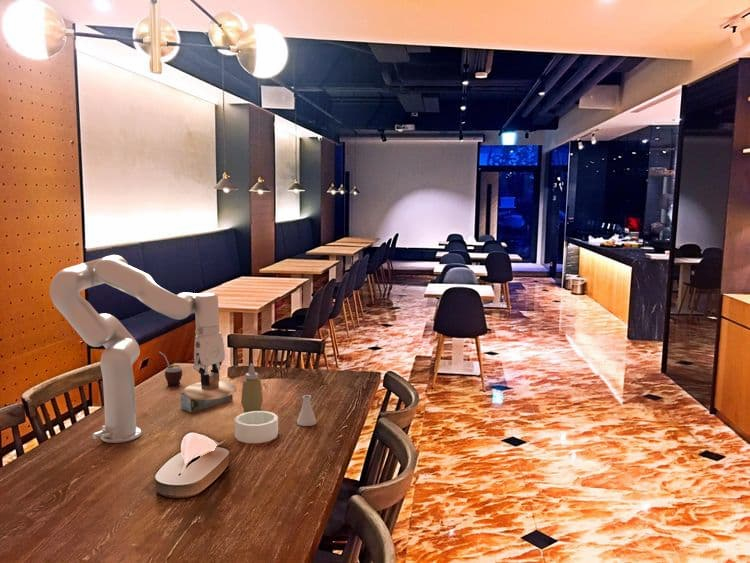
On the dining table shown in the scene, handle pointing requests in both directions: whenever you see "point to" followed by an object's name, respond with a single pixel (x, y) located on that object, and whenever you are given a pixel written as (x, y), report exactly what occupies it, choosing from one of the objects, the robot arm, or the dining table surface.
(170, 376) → the mate gourd
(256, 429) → the bowl
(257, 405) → the squeeze bottle
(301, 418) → the flask
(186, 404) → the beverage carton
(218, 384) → the lid
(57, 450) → the dining table surface
